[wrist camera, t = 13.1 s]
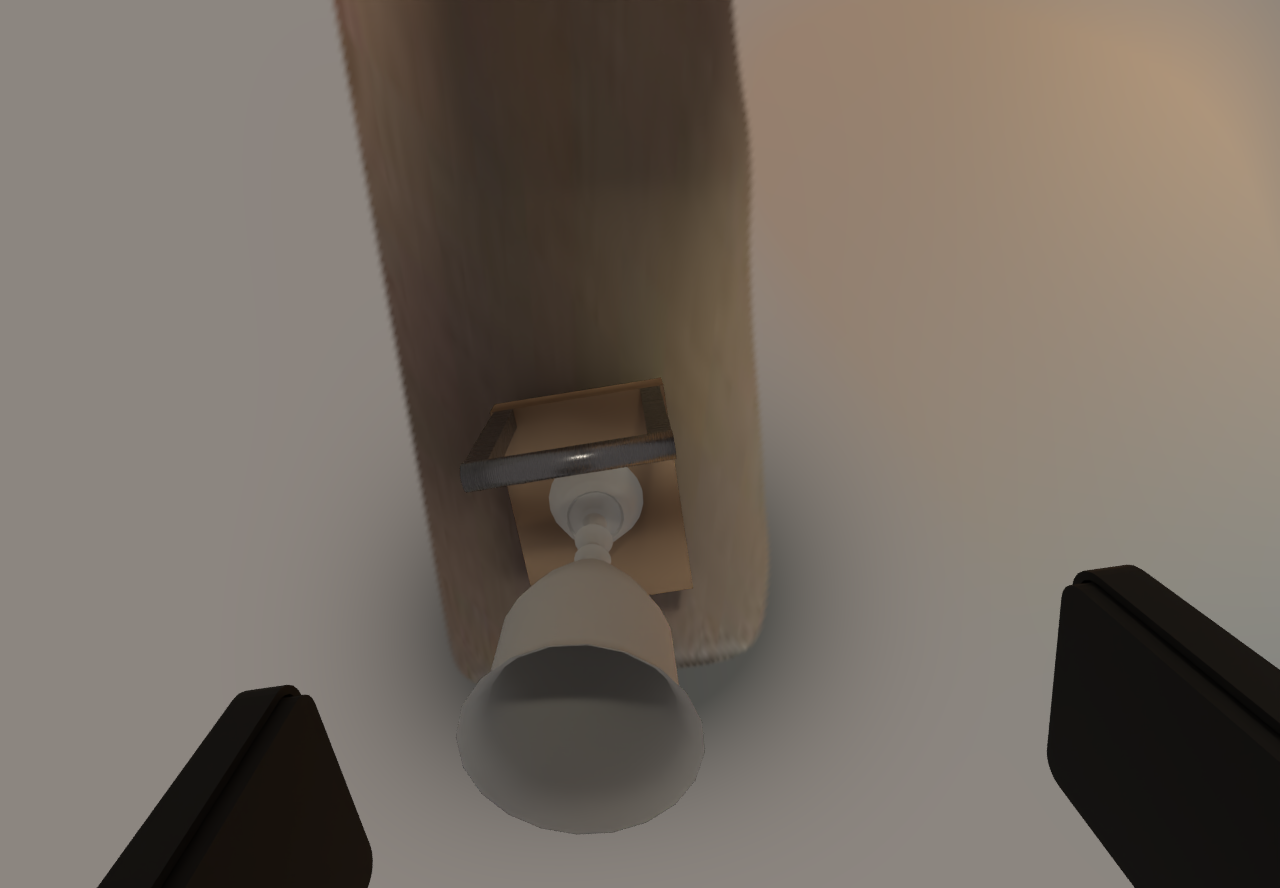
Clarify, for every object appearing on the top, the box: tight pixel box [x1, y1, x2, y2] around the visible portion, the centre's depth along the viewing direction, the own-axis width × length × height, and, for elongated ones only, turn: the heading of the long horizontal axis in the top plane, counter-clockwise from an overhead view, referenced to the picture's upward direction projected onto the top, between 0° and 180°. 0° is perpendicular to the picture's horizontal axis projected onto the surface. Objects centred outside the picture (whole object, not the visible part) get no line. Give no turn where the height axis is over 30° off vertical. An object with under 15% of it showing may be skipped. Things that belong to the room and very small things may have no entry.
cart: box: [460, 378, 693, 595], centre depth 35 cm, size 12×9×12 cm
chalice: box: [456, 467, 705, 834], centre depth 29 cm, size 7×7×18 cm
